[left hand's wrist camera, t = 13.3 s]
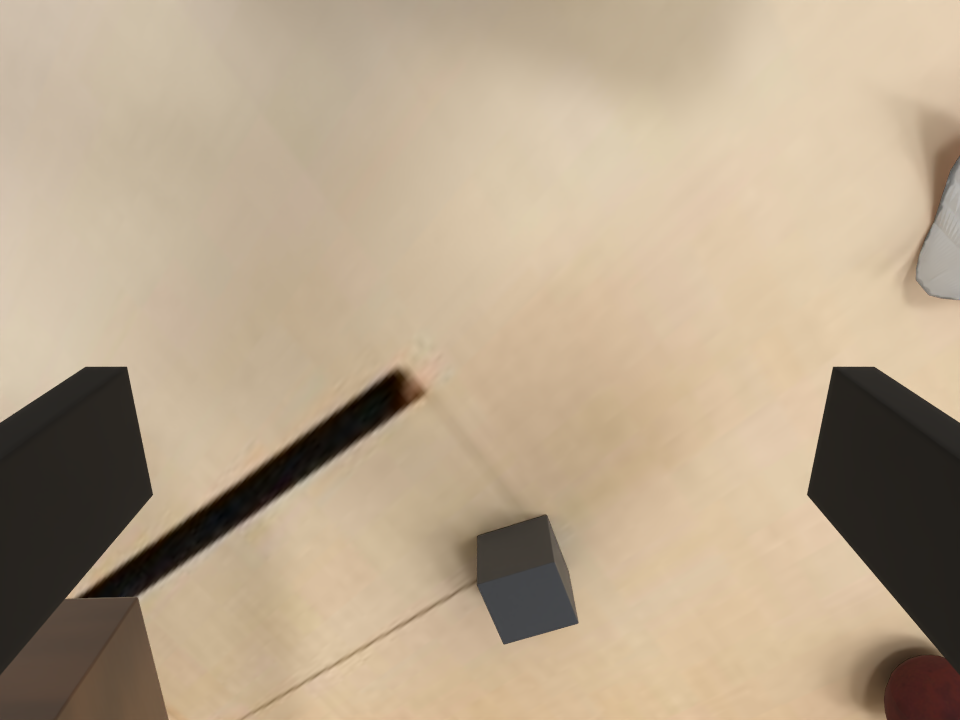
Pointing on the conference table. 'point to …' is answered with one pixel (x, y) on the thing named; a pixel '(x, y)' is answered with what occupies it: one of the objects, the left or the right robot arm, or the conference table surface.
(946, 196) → the red white cowboy hat
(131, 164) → the conference table surface
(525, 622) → the charcoal cube
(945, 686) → the dark red ball
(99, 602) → the walnut bar
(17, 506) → the left robot arm
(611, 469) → the conference table surface
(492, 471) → the conference table surface
